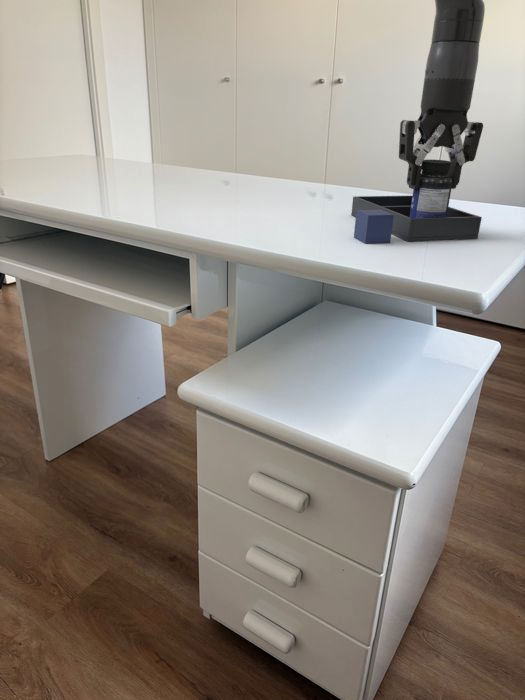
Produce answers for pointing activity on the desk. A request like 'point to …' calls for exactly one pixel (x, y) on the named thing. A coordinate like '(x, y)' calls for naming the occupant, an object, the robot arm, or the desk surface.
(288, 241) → the desk surface
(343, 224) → the desk surface
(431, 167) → the pill bottle
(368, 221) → the navy block
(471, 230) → the sorting tray
